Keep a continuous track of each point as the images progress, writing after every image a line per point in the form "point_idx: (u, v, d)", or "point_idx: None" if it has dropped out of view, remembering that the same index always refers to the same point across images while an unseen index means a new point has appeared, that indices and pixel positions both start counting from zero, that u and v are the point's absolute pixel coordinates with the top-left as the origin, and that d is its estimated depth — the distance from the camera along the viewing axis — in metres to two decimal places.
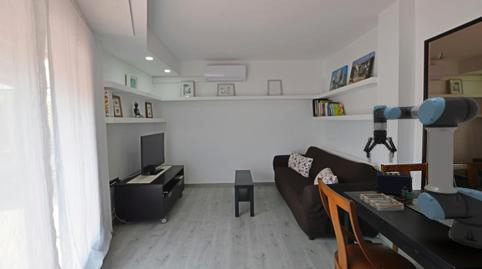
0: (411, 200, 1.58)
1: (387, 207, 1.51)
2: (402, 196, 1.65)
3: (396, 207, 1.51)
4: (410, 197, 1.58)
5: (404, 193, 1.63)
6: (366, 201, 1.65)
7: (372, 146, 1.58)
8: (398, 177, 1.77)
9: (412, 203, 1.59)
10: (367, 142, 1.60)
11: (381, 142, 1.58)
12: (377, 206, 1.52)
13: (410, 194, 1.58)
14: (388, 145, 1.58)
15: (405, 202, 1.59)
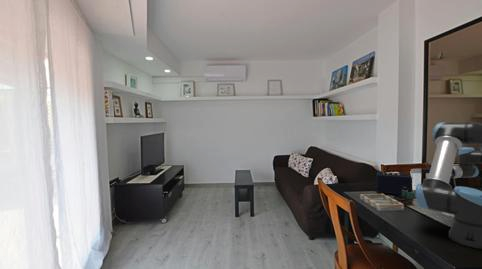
0: (411, 200, 1.58)
1: (387, 207, 1.51)
2: (402, 196, 1.65)
3: (396, 207, 1.51)
4: (410, 197, 1.58)
5: (404, 193, 1.63)
6: (366, 201, 1.65)
7: (428, 169, 1.67)
8: (398, 177, 1.77)
9: (412, 203, 1.59)
10: None
11: None
12: (377, 206, 1.52)
13: (410, 194, 1.58)
14: None
15: (405, 202, 1.59)
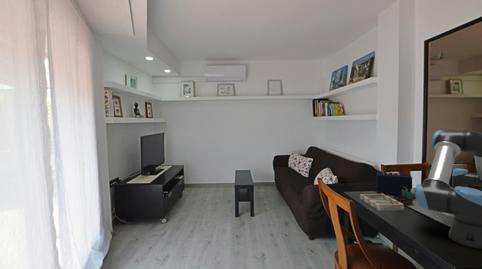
0: (411, 200, 1.58)
1: (387, 207, 1.51)
2: (402, 196, 1.65)
3: (396, 207, 1.51)
4: (410, 197, 1.58)
5: (404, 193, 1.63)
6: (366, 201, 1.65)
7: None
8: (398, 177, 1.77)
9: (412, 203, 1.59)
10: None
11: None
12: (377, 206, 1.52)
13: (410, 194, 1.58)
14: None
15: (405, 202, 1.59)
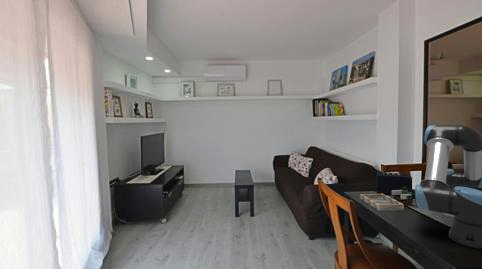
0: (411, 200, 1.58)
1: (387, 207, 1.51)
2: None
3: (396, 207, 1.51)
4: None
5: (404, 193, 1.63)
6: (366, 201, 1.65)
7: None
8: (398, 177, 1.77)
9: (412, 203, 1.59)
10: None
11: None
12: (377, 206, 1.52)
13: None
14: None
15: (405, 202, 1.60)
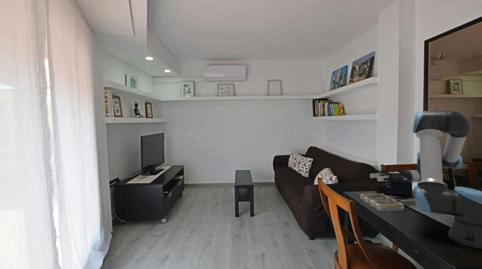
0: (388, 182, 1.57)
1: (387, 207, 1.51)
2: None
3: (396, 207, 1.51)
4: None
5: (382, 176, 1.63)
6: (366, 201, 1.65)
7: None
8: None
9: (389, 185, 1.58)
10: None
11: (396, 175, 1.61)
12: (377, 206, 1.52)
13: None
14: (395, 176, 1.58)
15: (382, 184, 1.59)
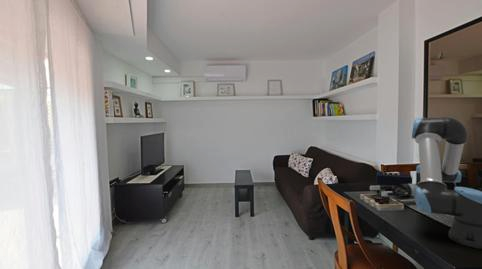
0: (388, 199, 1.58)
1: (387, 207, 1.51)
2: (380, 195, 1.65)
3: (396, 207, 1.51)
4: (387, 196, 1.58)
5: None
6: (366, 201, 1.65)
7: (386, 186, 1.67)
8: (398, 177, 1.77)
9: (389, 202, 1.58)
10: None
11: (396, 188, 1.61)
12: (377, 206, 1.52)
13: None
14: (397, 190, 1.57)
15: (382, 201, 1.59)
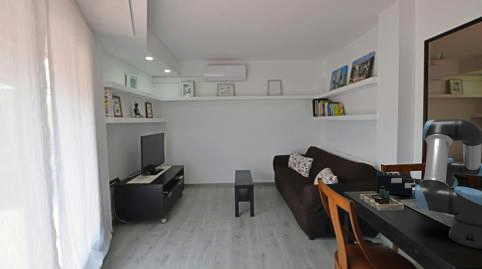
0: (388, 199, 1.58)
1: (387, 207, 1.51)
2: (380, 195, 1.65)
3: (396, 207, 1.51)
4: (387, 196, 1.58)
5: (381, 192, 1.63)
6: (366, 201, 1.65)
7: (408, 179, 1.67)
8: (398, 177, 1.77)
9: (389, 202, 1.58)
10: None
11: (418, 181, 1.62)
12: (377, 206, 1.52)
13: (387, 193, 1.58)
14: None
15: (382, 201, 1.59)
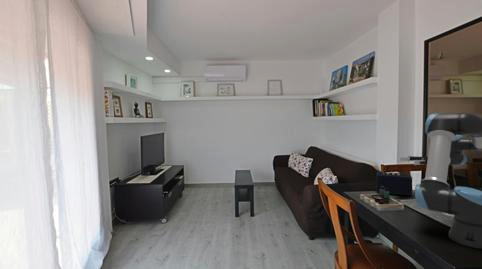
0: (388, 199, 1.58)
1: (387, 207, 1.51)
2: (380, 195, 1.65)
3: (396, 207, 1.51)
4: (387, 196, 1.58)
5: (381, 192, 1.63)
6: (366, 201, 1.65)
7: (416, 157, 1.66)
8: (398, 177, 1.77)
9: (389, 202, 1.58)
10: None
11: (427, 158, 1.61)
12: (377, 206, 1.52)
13: (387, 193, 1.58)
14: None
15: (382, 201, 1.59)
